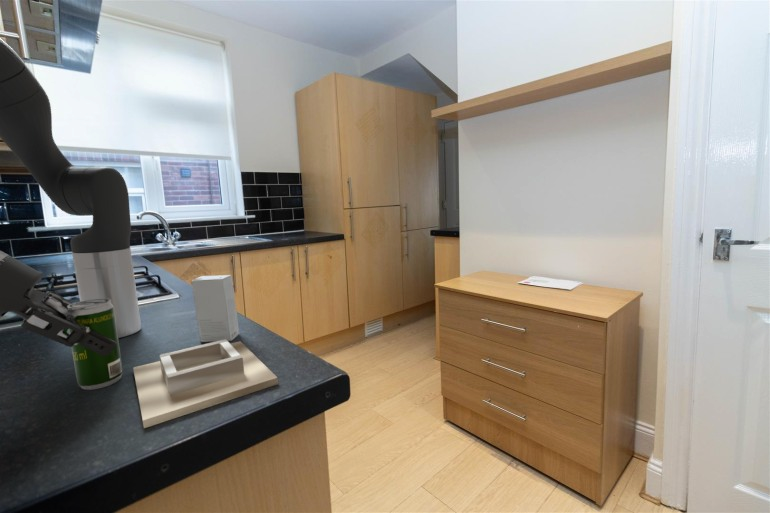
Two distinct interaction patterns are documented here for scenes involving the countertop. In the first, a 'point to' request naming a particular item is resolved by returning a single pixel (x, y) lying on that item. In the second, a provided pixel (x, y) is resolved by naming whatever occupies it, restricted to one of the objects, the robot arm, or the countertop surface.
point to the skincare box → (215, 308)
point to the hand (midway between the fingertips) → (111, 343)
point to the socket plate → (198, 380)
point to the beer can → (89, 364)
